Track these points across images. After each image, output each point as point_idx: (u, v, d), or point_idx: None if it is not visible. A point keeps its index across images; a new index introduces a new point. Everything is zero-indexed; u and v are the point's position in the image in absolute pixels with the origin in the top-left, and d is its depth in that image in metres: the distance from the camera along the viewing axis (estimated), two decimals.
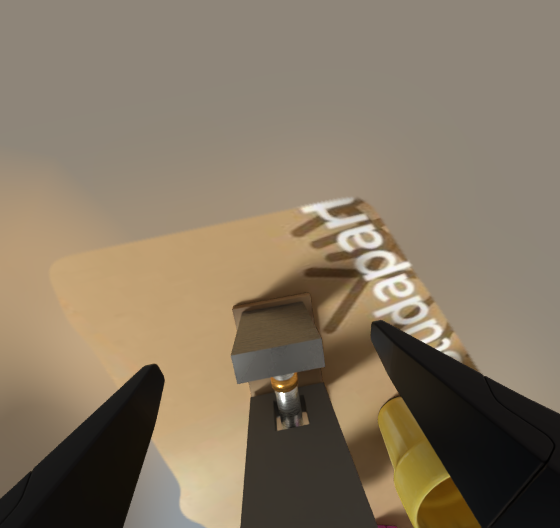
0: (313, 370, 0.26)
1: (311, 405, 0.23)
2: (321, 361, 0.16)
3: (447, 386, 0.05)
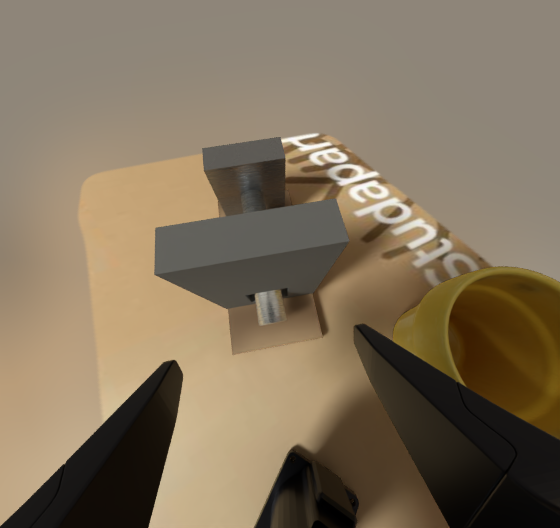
0: None
1: None
2: (281, 153, 0.18)
3: (419, 392, 0.05)
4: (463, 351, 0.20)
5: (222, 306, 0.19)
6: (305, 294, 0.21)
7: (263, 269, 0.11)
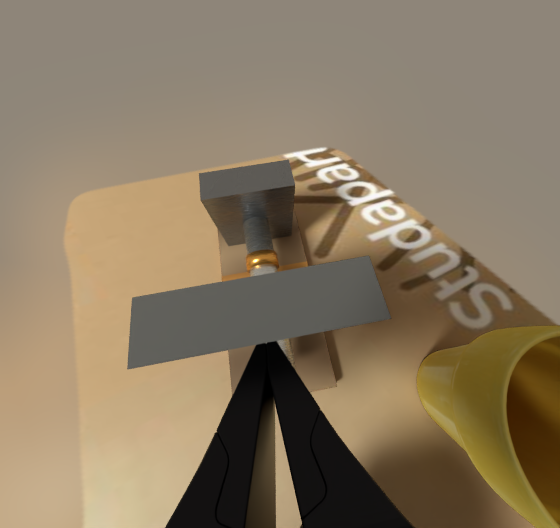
0: None
1: None
2: (290, 180, 0.15)
3: (279, 421, 0.05)
4: None
5: None
6: None
7: None
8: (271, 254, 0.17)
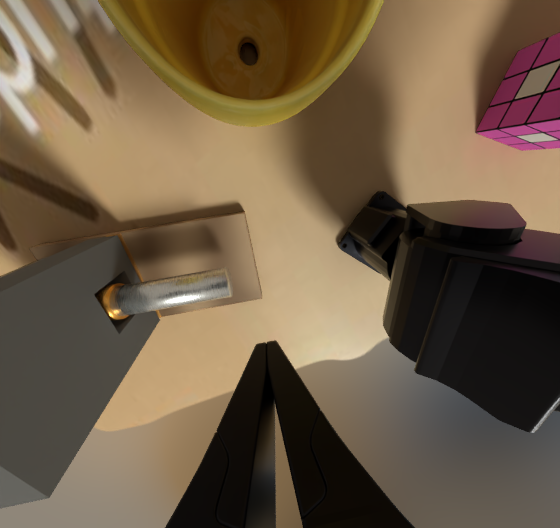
0: (151, 239, 0.18)
1: None
2: None
3: None
4: None
5: (151, 332, 0.19)
6: (121, 244, 0.17)
7: (21, 393, 0.09)
8: None
